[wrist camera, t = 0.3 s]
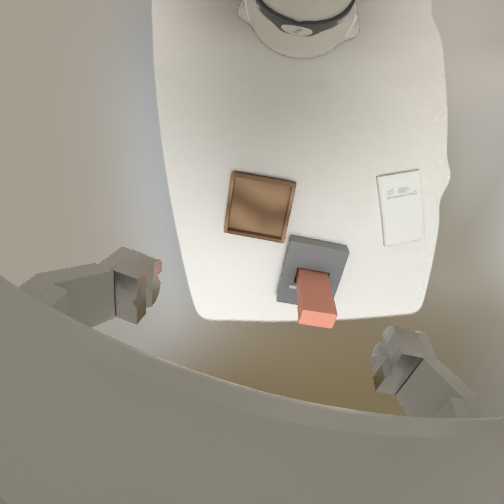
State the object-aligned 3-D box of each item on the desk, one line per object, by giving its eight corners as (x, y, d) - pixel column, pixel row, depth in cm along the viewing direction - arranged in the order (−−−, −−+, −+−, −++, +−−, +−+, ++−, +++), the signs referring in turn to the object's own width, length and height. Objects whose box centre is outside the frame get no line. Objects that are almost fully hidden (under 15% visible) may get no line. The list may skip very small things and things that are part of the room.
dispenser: (290, 234, 50) (291, 241, 47) (346, 245, 49) (349, 253, 47) (276, 293, 55) (276, 302, 52) (327, 301, 55) (329, 311, 52)
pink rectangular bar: (298, 261, 52) (302, 309, 39) (325, 266, 52) (337, 314, 39) (295, 274, 53) (298, 323, 40) (322, 278, 53) (332, 328, 40)
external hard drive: (382, 243, 49) (374, 175, 44) (421, 234, 48) (417, 168, 43) (385, 246, 48) (377, 177, 43) (425, 238, 46) (421, 170, 41)
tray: (233, 171, 46) (231, 173, 44) (295, 182, 46) (296, 184, 44) (225, 228, 50) (223, 232, 49) (283, 239, 50) (283, 243, 48)
